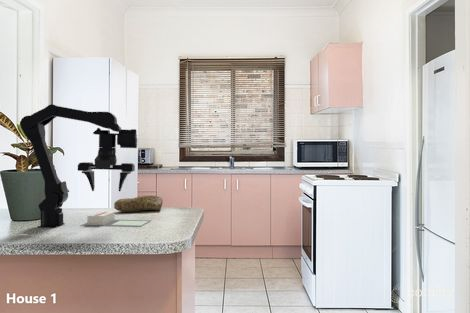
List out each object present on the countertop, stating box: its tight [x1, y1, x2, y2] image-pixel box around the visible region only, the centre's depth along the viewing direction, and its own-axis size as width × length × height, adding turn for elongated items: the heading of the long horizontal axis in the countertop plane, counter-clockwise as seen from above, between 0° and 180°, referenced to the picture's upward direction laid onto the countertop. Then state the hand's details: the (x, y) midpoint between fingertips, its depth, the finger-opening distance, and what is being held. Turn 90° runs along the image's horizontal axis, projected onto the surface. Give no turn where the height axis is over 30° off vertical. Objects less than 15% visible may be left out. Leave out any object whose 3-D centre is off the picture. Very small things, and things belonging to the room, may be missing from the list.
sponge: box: [113, 195, 163, 213], centre depth 168 cm, size 13×8×20 cm
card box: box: [86, 211, 116, 225], centre depth 140 cm, size 6×9×3 cm, turn 173°
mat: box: [79, 219, 152, 228], centre depth 139 cm, size 22×12×1 cm, turn 83°
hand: (106, 191), depth 137 cm, fingers open, 9 cm apart
